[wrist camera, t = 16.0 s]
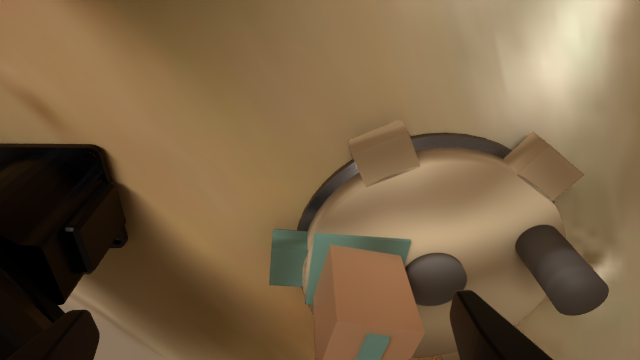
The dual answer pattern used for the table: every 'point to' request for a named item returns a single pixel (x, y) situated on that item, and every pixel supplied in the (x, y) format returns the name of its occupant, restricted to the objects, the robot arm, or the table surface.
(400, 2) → the table surface
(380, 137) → the sprocket disc
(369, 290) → the link block
